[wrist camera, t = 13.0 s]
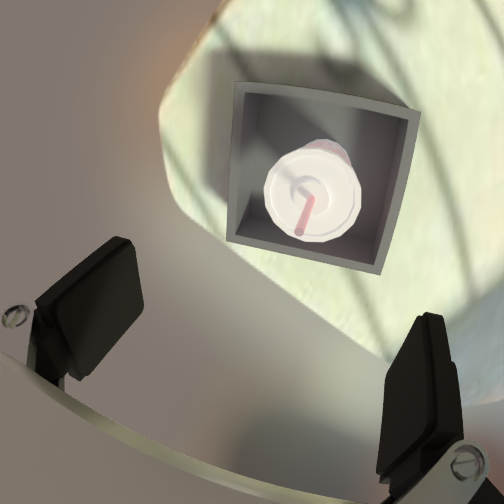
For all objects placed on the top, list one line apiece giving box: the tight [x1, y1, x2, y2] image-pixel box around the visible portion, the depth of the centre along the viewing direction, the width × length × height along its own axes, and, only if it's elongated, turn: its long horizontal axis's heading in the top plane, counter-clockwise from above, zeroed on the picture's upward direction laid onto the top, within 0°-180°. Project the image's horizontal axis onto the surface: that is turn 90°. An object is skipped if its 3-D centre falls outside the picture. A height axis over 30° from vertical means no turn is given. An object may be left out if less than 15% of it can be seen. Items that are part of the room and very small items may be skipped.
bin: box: [226, 81, 421, 275], centre depth 26 cm, size 14×14×5 cm
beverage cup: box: [264, 139, 361, 242], centre depth 21 cm, size 6×6×14 cm
